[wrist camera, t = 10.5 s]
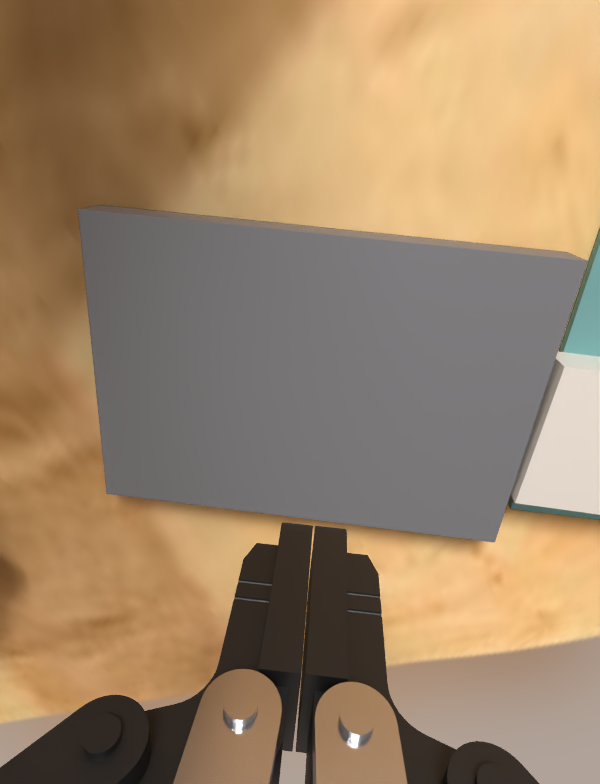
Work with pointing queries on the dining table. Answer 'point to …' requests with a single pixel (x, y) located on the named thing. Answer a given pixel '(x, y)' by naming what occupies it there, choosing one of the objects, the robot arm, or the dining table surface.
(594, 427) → the cream tile
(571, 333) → the teal mat
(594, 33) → the dining table surface
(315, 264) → the plate
